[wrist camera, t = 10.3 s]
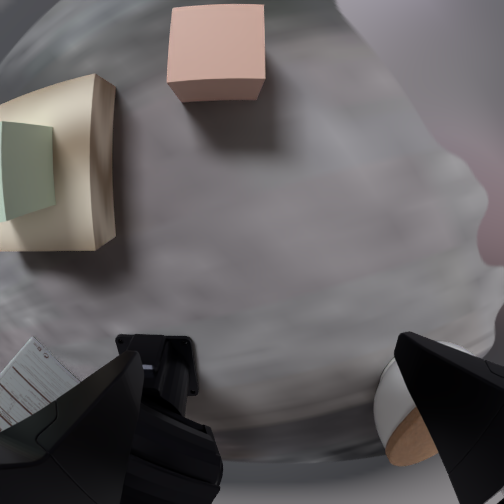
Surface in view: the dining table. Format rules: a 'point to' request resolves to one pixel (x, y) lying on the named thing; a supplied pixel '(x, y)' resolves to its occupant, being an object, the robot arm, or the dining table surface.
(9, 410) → the supplement box
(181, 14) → the clay cube
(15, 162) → the sage cube
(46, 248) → the birch block
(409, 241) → the dining table surface
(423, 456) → the lidded bowl
